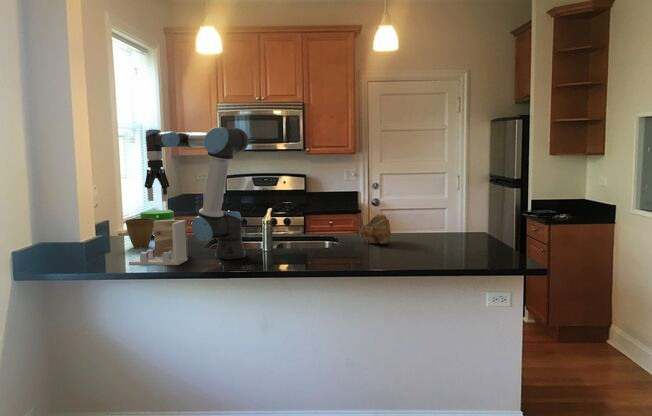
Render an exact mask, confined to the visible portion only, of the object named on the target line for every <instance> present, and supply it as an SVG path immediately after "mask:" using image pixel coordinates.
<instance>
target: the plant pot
mask: <svg viewBox="0 0 652 416" xmlns="http://www.w3.org/2000/svg"><path fill="white" fill-rule="evenodd" d="M153 224H154V219H152V218H140V219H137V218H131V219H126V220H125V226H126V229H127V230H126V231H127V234H128V237H129V240H130V242H131V245H132V247H133V249H147V248H149V246H150V243H151V240H152V236H153V233H154V228H153ZM146 247H147V248H146Z"/></svg>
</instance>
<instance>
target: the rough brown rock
mask: <svg viewBox="0 0 652 416" xmlns="http://www.w3.org/2000/svg"><path fill="white" fill-rule="evenodd" d="M359 234H360V235H361V238H362V240H364V241H366V242H367V241H370V242H372V243H374V244H376V245H377V244H379V243H380V244H382V245H384V244H385V245H387V244H389V243H391V241H392V230H391V224H390V220H389V218H387V216H386V215H385V214H376V215H374V217H372V219H371V220H370V221H369V222H368V223H366V224H364V225H362V226H361V228H360V229H359Z"/></svg>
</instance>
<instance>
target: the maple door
mask: <svg viewBox="0 0 652 416" xmlns="http://www.w3.org/2000/svg"><path fill="white" fill-rule="evenodd" d="M184 220H185V219H184ZM179 221H182V220H178V219H177V220H156V221H154V228H153V235H154V236H153V237H154V238H153V239H154V240H153V241H154V249H155V257H163V255H162V253H164V252H169V250H173V236H172V224H173V223H176V222H179ZM187 223H188V222H187V220H185V235H186V257H188V256H189V245H188V243H189V242H188V224H187Z"/></svg>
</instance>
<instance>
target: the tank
mask: <svg viewBox="0 0 652 416" xmlns="http://www.w3.org/2000/svg"><path fill="white" fill-rule="evenodd" d="M140 218H152V219H154V221H156V220H175V213H174V210H169V209H168V210H165V209H164V210H160V209H159V210H147V211H142V212H140V216H137V217H136V219H140ZM153 229H154V224H153Z"/></svg>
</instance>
